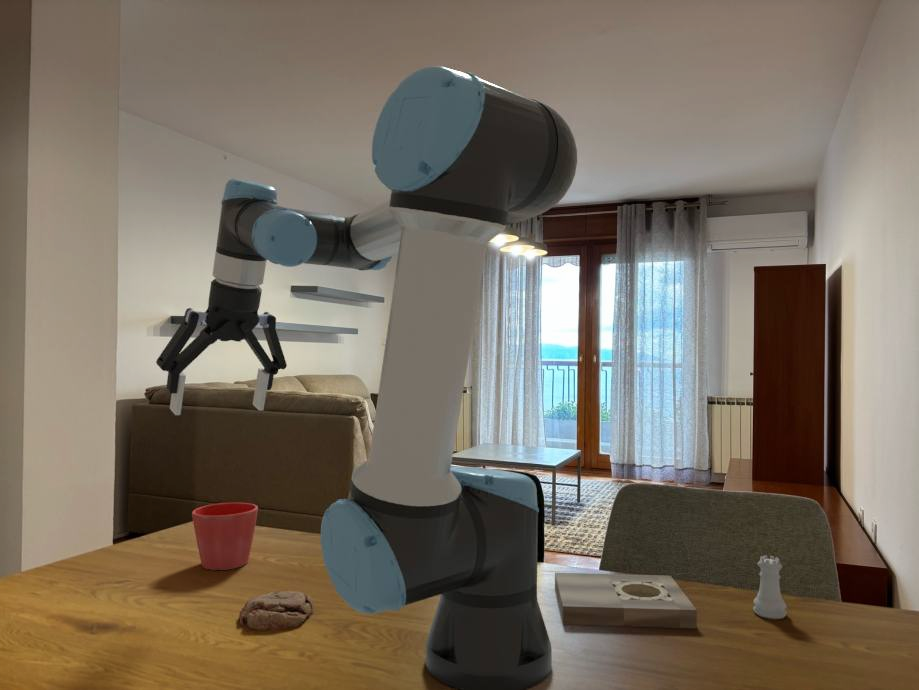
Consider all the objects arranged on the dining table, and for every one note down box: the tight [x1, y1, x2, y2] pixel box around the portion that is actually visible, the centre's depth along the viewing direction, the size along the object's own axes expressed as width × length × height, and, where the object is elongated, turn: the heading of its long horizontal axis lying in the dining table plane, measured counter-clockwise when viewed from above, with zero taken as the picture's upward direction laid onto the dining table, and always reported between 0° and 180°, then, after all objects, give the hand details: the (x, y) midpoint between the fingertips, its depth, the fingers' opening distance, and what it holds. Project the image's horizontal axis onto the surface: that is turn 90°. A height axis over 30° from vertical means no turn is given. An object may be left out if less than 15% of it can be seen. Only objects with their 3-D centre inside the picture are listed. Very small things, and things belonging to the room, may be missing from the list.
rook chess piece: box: [752, 555, 788, 620], centre depth 95 cm, size 4×4×8 cm
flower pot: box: [191, 502, 259, 571], centre depth 117 cm, size 11×11×10 cm
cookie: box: [238, 590, 314, 632], centre depth 94 cm, size 10×11×3 cm
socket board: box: [554, 572, 698, 630], centre depth 98 cm, size 14×18×2 cm
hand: (218, 409), depth 108 cm, fingers open, 13 cm apart
